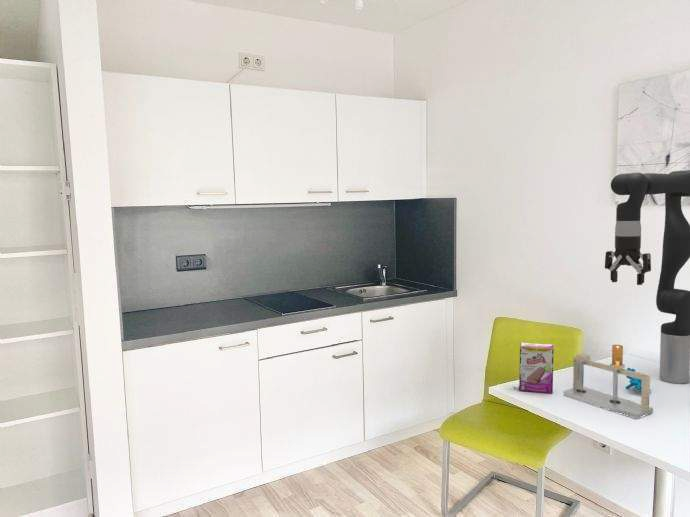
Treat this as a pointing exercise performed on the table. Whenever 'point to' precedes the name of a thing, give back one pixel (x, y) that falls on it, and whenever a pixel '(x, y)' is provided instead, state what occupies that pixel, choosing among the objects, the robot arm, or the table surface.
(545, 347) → the candy bar box
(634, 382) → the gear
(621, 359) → the cylinder
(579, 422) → the table surface
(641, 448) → the table surface
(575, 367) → the divider frame
